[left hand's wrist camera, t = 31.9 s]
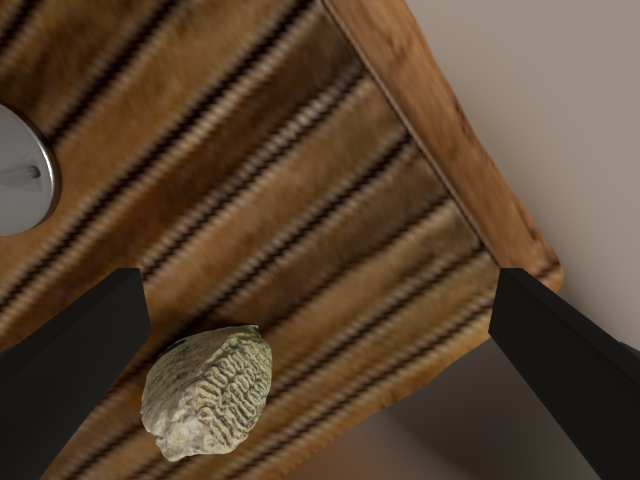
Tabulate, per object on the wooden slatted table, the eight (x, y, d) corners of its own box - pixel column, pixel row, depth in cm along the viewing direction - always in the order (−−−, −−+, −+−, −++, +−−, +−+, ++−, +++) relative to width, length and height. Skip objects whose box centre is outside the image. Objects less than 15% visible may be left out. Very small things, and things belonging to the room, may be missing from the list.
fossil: (289, 342, 46) (276, 443, 32) (185, 402, 50) (132, 515, 36) (248, 294, 44) (215, 379, 30) (142, 360, 47) (67, 465, 33)
